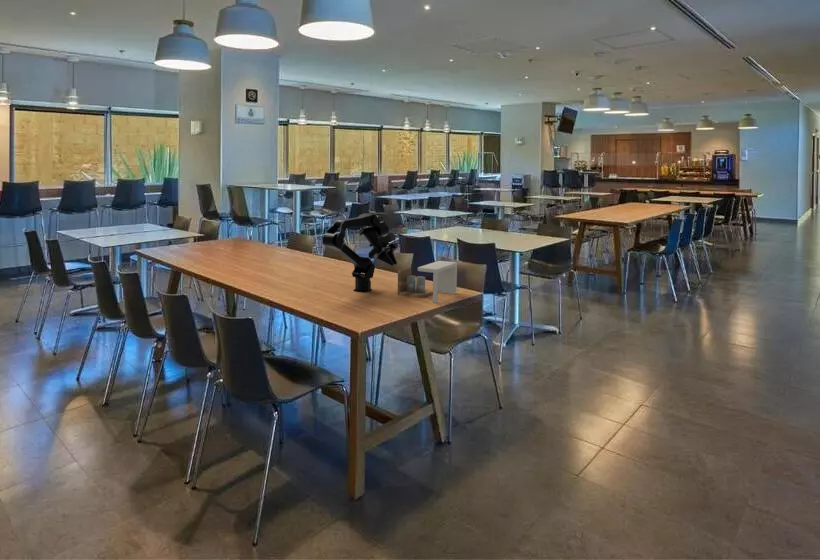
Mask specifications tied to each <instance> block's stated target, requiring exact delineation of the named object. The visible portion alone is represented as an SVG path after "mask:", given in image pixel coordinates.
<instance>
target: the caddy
mask: <svg viewBox="0 0 820 560" xmlns="http://www.w3.org/2000/svg"><path fill="white" fill-rule="evenodd" d="M397 295H398V296H405V297H413V298H421V299H424V298H427V297H429V296H431V295H432V296H433V290H428V289H427V290H426V276H422V275H420V276H418V275H417V276H416V275H414V274H413V275H412V267H406V268H403V269H399V270H397Z"/></svg>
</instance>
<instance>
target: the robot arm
mask: <svg viewBox="0 0 820 560" xmlns="http://www.w3.org/2000/svg"><path fill="white" fill-rule="evenodd" d="M363 226H364V227H363ZM357 227H362V228H361V229H360V230H359V236H363V237H364V238H365V239H366V240H367V241H368V243H369V247H370V248H371V250H370V251H369V252H368V255H367V256H368V257H366V256H360V255H359V254H357V253H356V252H355V251H354V250H353V249H352V248H350V247H349V246H348V245H346V243H345V237H346V230H347V229H350V228H351V229H352V228H357ZM338 231H339V233H337V232H338ZM396 237H397V235H396V234H395V233H394V232H390V229H389V225H388V224H386V222H385V221H384V220H381V221H380V220H379V218H378V217H377V214H376V213H362V214H359V215H358V216H357V217H351V218H344V219H337V220H335V221H334V223H333V224H332V225H331V226H330V227H329V228H328V229H326V231H325V233H324V234H323V236H322V238H321V239H322V244H323V246H324V247H326V248H328V249H332V250H335V251H336V252H338V253H339V254H341V256H342V257H344V258H345V259H346V260H348V261H349V262H351V264H352V265H353V267H354V269H353V270H352V272H351V275H352V278H355V280H354V282H355V284H354V285H355V287H354V289H353V291H354V292H360V293H365V292H366V293H367V292H369V291H370V292H371V291H372V290H373V288H372V281H371V279H373V278H374V274H375V268H376V267H375V264H374V263H373V262H374V259H375V256H376V255H377V257H376V260H379V261H381V262H384V263H386V264H388V265H390V266H394V265H395V266H396V265H397V264H398V262H397V260H396V257H395V253H394V252H395V251H396V250H397V249H398V247H399V245H398V243H397V242H394V241H396Z"/></svg>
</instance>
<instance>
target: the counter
mask: <svg viewBox="0 0 820 560" xmlns="http://www.w3.org/2000/svg"><path fill="white" fill-rule="evenodd" d="M417 271H418V272H425V273H433V274H432V275H433V276H432V277H433V278H432V279H433V280H432V287H433V288H432V291H433V294H432V304H433V303H435V304H437V303H438V299H439V297H438V293H443V294H448V295H449V294H450V295H457V287H458V286H457V284H458V283H457V282H458V281H457V280H458V276H457V275H458V262H455V261H446V260H438V261H433V262H430V263H427V264H424V265H420V266H418V267H417Z"/></svg>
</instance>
